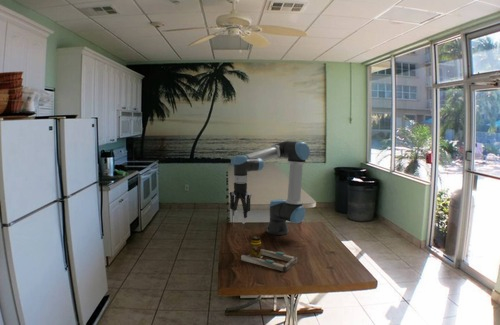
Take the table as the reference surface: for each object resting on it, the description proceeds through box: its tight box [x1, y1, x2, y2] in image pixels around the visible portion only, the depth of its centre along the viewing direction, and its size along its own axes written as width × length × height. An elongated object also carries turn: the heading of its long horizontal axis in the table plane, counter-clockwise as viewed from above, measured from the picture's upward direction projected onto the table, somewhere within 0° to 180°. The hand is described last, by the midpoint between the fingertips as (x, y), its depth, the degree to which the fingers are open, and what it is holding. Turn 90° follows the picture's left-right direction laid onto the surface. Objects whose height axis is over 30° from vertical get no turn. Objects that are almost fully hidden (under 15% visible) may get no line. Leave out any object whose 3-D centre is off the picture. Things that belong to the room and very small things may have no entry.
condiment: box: [247, 235, 265, 259], centre depth 180 cm, size 7×8×12 cm
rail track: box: [240, 248, 298, 273], centre depth 176 cm, size 15×27×3 cm, turn 59°
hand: (239, 222), depth 184 cm, fingers open, 5 cm apart
